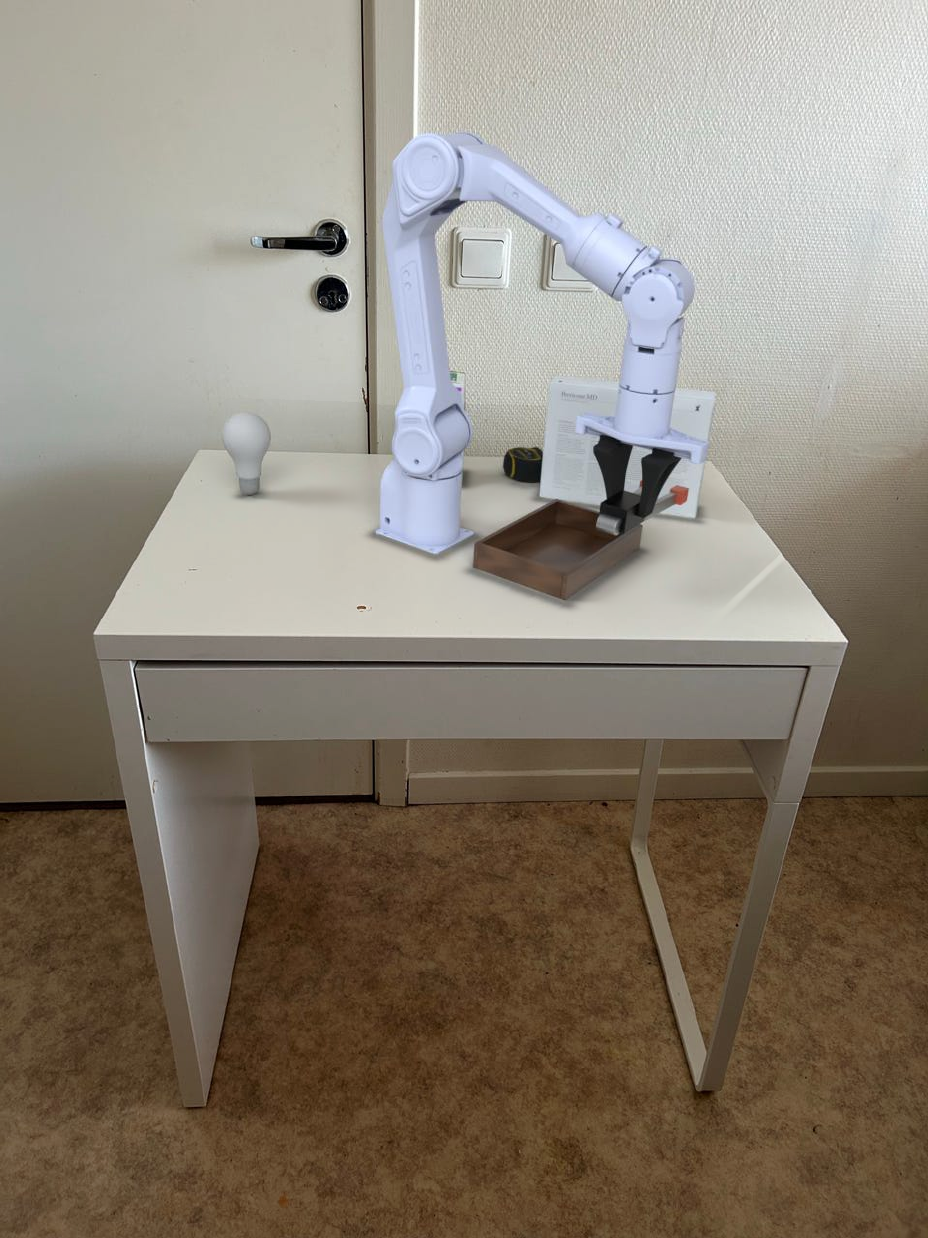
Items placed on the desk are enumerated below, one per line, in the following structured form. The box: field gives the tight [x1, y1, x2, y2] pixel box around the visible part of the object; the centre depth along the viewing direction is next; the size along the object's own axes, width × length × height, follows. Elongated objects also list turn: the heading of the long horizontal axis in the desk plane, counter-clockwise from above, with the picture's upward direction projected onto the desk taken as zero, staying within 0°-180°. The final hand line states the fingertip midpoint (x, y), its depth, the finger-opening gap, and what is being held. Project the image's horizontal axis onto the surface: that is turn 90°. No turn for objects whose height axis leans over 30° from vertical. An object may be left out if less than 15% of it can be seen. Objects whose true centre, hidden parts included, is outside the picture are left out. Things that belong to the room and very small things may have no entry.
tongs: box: [596, 480, 689, 535], centre depth 105 cm, size 5×15×3 cm, turn 144°
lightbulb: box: [221, 411, 272, 496], centre depth 123 cm, size 6×6×11 cm
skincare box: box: [538, 374, 717, 519], centre depth 125 cm, size 21×6×16 cm, turn 76°
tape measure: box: [502, 446, 543, 483], centre depth 135 cm, size 7×7×4 cm
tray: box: [472, 499, 644, 601], centre depth 111 cm, size 12×18×4 cm
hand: (629, 510), depth 104 cm, fingers closed on tongs, 3 cm apart
